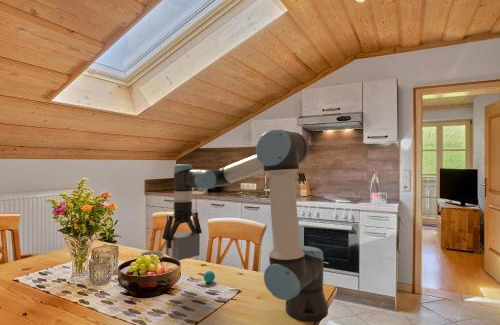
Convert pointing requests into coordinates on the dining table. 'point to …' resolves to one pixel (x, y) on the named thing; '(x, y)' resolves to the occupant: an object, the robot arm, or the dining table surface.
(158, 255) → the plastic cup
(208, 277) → the ball
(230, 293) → the dining table surface
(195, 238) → the matte grey cube
